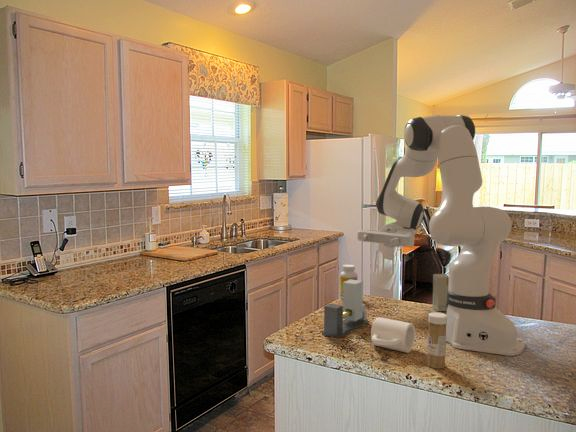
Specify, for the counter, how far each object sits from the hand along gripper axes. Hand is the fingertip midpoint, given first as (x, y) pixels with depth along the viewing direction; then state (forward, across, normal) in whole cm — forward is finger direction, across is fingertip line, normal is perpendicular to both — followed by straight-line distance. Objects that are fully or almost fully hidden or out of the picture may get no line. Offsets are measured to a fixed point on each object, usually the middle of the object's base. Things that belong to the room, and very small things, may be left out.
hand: (376, 240), depth 168 cm
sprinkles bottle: (+36, +33, +24) cm, 54 cm away
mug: (+33, +19, +24) cm, 45 cm away
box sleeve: (+18, 0, +23) cm, 29 cm away
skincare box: (-14, +19, +25) cm, 35 cm away
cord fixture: (+23, 0, +24) cm, 33 cm away
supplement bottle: (-9, -15, +26) cm, 31 cm away
